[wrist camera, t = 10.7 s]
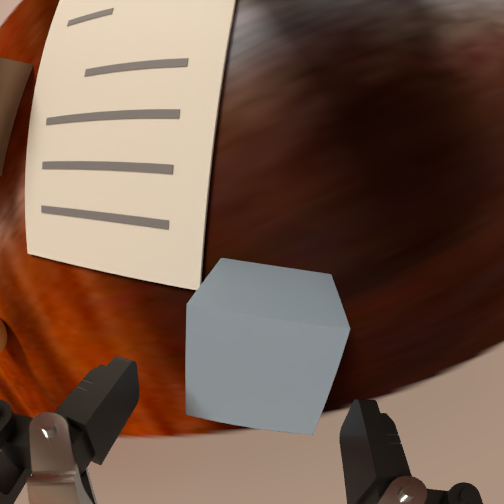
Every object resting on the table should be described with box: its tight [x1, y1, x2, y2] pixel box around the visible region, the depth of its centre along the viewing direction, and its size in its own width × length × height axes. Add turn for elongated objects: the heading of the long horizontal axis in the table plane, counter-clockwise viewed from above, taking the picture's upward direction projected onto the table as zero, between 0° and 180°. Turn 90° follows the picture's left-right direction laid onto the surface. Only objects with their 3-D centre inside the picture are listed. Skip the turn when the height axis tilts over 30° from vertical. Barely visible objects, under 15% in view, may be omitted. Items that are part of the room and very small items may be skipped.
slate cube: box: [186, 258, 350, 435], centre depth 14 cm, size 6×6×6 cm
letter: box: [25, 0, 236, 290], centre depth 15 cm, size 14×20×1 cm
